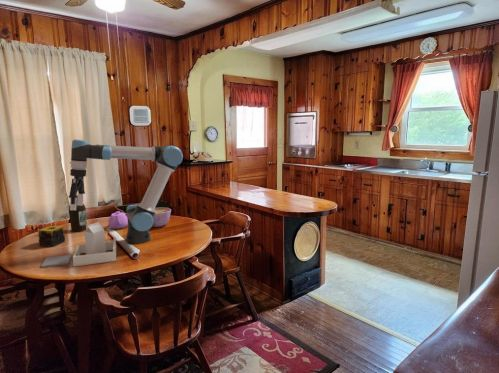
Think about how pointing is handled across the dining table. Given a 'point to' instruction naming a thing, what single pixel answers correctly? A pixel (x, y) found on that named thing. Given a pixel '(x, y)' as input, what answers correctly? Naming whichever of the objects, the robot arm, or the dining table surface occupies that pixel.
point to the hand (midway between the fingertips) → (76, 207)
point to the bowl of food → (161, 216)
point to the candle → (51, 236)
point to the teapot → (118, 220)
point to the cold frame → (94, 255)
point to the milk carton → (95, 239)
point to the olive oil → (78, 218)
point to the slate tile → (56, 261)
